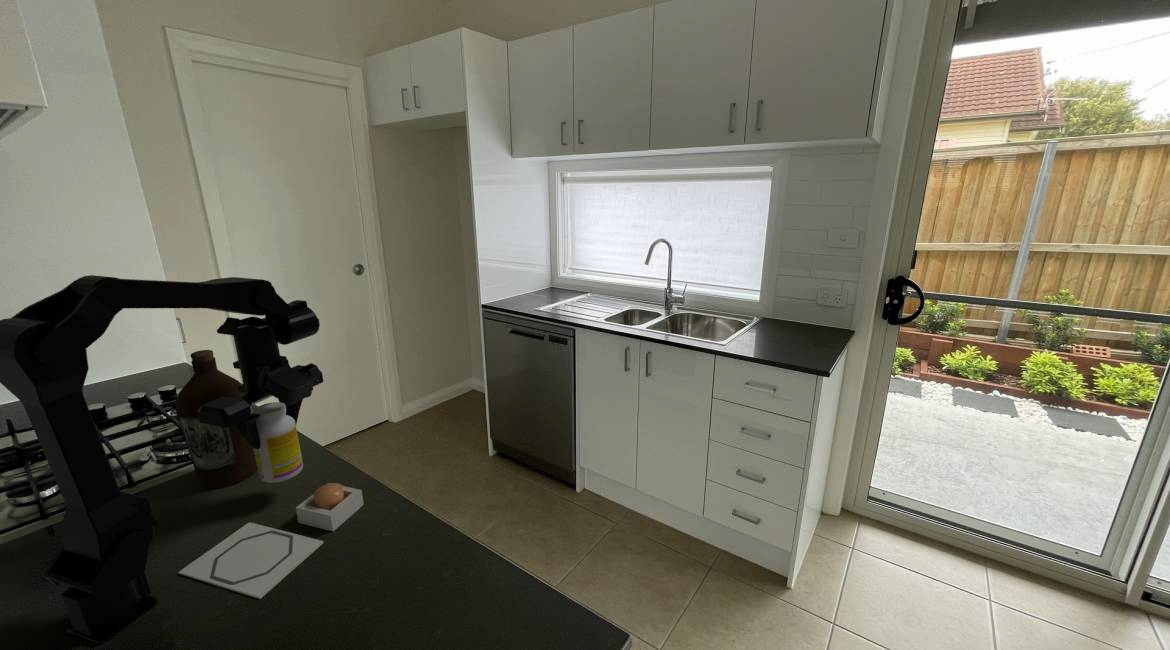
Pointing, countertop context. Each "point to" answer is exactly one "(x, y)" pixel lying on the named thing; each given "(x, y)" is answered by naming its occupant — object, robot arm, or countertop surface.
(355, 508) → the button housing
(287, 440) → the supplement bottle
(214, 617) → the countertop surface
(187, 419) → the olive oil
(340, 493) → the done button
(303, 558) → the paper sheet
